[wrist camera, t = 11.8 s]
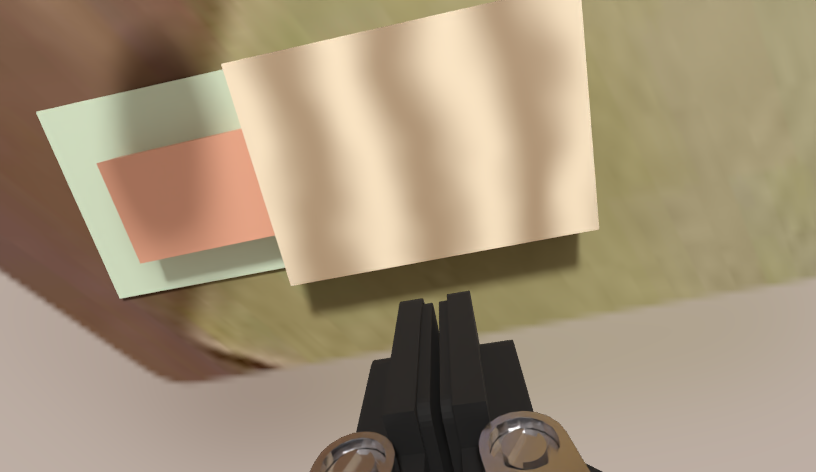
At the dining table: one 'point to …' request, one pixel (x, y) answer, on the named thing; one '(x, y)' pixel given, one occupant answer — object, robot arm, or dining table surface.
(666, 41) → the dining table surface
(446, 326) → the robot arm
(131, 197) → the tile
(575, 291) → the dining table surface
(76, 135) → the mat
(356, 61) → the beige box
